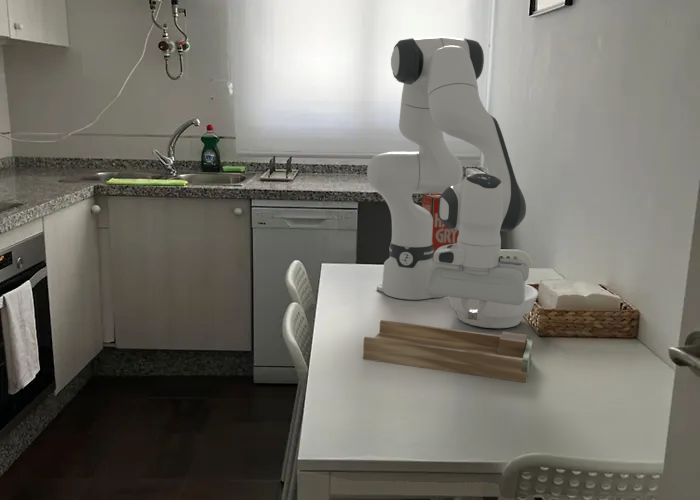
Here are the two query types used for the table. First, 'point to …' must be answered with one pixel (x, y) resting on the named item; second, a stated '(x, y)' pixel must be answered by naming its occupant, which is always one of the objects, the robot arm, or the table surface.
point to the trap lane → (446, 351)
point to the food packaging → (438, 223)
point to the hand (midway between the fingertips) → (472, 318)
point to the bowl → (497, 311)
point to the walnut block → (512, 344)
